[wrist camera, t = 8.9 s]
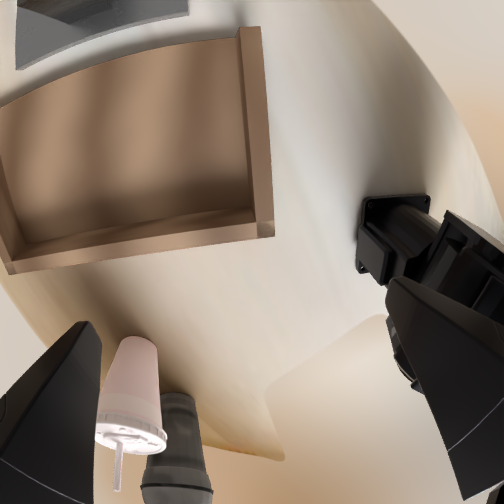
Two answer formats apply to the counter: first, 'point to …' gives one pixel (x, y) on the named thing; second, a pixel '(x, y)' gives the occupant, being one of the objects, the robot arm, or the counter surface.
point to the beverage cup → (177, 457)
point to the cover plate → (81, 23)
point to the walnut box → (138, 157)
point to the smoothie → (131, 404)
